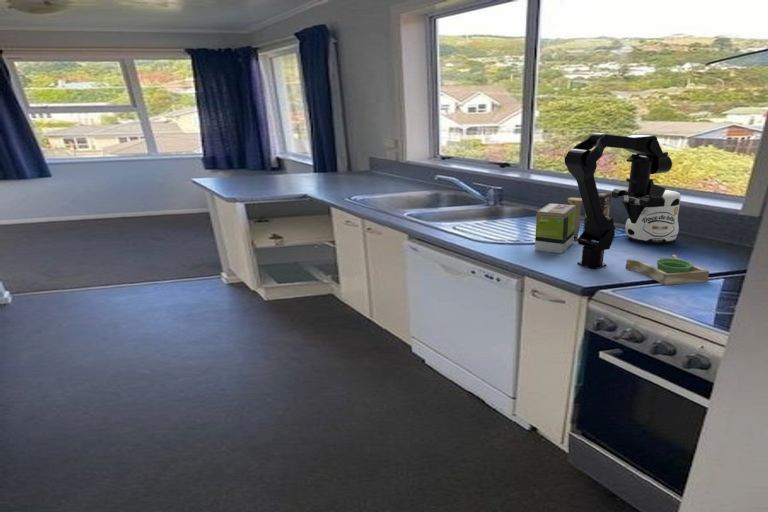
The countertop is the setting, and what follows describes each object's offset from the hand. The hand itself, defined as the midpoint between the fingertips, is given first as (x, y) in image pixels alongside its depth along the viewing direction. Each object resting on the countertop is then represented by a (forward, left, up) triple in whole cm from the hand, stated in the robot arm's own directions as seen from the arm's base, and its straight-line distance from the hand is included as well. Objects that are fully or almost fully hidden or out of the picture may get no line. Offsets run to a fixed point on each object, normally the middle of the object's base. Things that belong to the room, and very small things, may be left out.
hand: (633, 223), depth 156 cm
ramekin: (-5, -18, -12) cm, 22 cm away
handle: (+6, +28, -12) cm, 31 cm away
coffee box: (+16, +26, -12) cm, 33 cm away
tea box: (-10, +23, -12) cm, 28 cm away
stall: (-5, -16, -12) cm, 20 cm away
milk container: (+25, +9, -12) cm, 29 cm away
